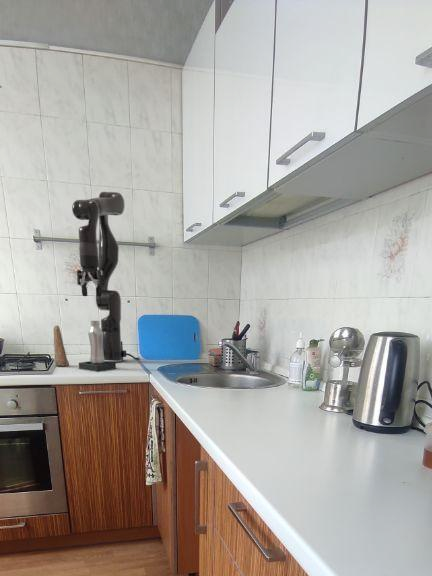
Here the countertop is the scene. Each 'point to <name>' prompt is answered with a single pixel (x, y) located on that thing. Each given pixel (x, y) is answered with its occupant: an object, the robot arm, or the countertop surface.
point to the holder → (97, 366)
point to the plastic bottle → (96, 344)
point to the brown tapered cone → (59, 348)
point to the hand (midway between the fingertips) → (91, 296)
